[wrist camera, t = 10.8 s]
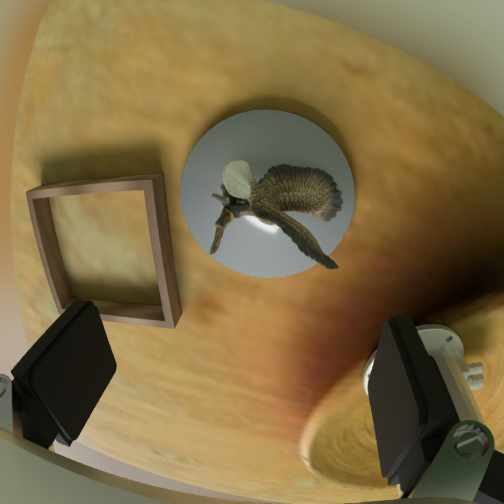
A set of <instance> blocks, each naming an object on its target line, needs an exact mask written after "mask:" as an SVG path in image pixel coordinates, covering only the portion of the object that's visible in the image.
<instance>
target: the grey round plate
mask: <svg viewBox="0 0 504 504" xmlns="http://www.w3.org/2000/svg"><path fill="white" fill-rule="evenodd" d="M239 160H243V161H245V162H247V163H248V165H249V167H250V170H251V172H252V174H253V177H254V179H255V180H256V182H257V183H258V182H259V180H260V179H261V178H264V174H266V173H267V172H268V169H270V168H271V167H272V166H277V165H280V164H287V165H291V166H299V167H300V166H301V167H303V168H305V167H311V168H314V169H315V168H319V169H320V170H324V171H325V172H326V173H328V174H330V176H332V177H333V179H334V180H333V181H334V182H335V183H337V185H338V186H337V187H336V189H338V190H340V191H341V193H342V196H341V199H342V200H343V205H342V206H341V208H342V210H341V211H340V212H337V213H336V217H335V218H332V219H331V221H330V222H329V223H326V222H323V221H321V220H320V219H317V218H315V217H314V216H312V215H308V214H304V213H300V212H284V213H286V214H287V215H289V216H290V217H292V218H294V219H295V220H297V221H298V222H299V223H301V224H302V225H303V226H304V227H305V228H307V229H308V230H309V231H310V232H311V233H312V234H313V236H314V237H315V239H316V240H317V242H318V244H319V245H320V247H321V249H322V252H323V253H324V254H326V255H327V256H328V255H329V254H330V253H331V252H332V251H333V250H334V249H335V248H336V246H337V245H338V244H339V243H340V241H341V240H342V238H343V236H344V235H345V233H346V231H347V229H348V227H349V224H350V222H351V218H352V215H353V210H354V203H355V188H354V181H353V176H352V173H351V169H350V166H349V164H348V162H347V159H346V157H345V155H344V154H343V152H342V150H341V149H340V147H339V146H338V145H337V143H336V142H335V141H334V140H333V139H332V137H331V136H329V135H328V134H327V133H326V132H325V131H324V130H323V129H322V128H320V127H319V126H317V125H316V124H314V123H313V122H311V121H309V120H307V119H305V118H303V117H301V116H298V115H295V114H292V113H289V112H285V111H279V110H267V109H263V110H252V111H247V112H243V113H239V114H237V115H234V116H231V117H229V118H227V119H225V120H223V121H221V122H220V123H218V124H217V125H215V126H214V127H212V128H211V129H210V130H209V131H208V132H207V133H206V134H204V135H203V136H202V137H201V139H200V140H199V141H198V142H197V144H196V145H195V146H194V148H193V149H192V151H191V153H190V155H189V156H188V159H187V161H186V164H185V166H184V170H183V174H182V178H181V187H180V197H181V205H182V211H183V214H184V218H185V221H186V223H187V225H188V228H189V230H190V232H191V233H192V235H193V237H194V238H195V240H196V241H197V242H198V244H199V245H200V246H201V247H202V248H203V249H204V250H205V251H206V252H207V253H208V254H209V255H210V250H211V246H212V244H213V241H214V236H215V231H216V226H215V223H216V221H217V220H218V218H219V217H220V215H221V212H222V210H223V207H224V206H223V205H222V203H221V202H220V201H219V200H217V199H214V198H212V196H211V195H212V194H214V193H216V194H219V195H221V196H223V191H222V190H221V187H220V186H221V184H223V185H225V184H224V181H223V170H224V168H225V165H226V164H228V163H229V162H230V161H239ZM242 203H244V202H242ZM210 256H211V257H212V258H213V259H215V260H216V261H217V262H219V263H221V264H222V265H224V266H225V267H227V268H230V269H232V270H234V271H236V272H239V273H242V274H245V275H250V276H254V277H264V278H276V277H284V276H289V275H293V274H297V273H300V272H302V271H305V270H307V269H309V268H311V267H313V266H314V265H316V264H318V263H317V262H316V261H315V260H312V259H311V258H310V257H307V256H305V254H304V253H301V252H300V250H299V249H298V246H297V244H295V243H293V242H292V239H291V238H290V237H288V236H287V235H286V234H284V233H283V231H282V229H281V228H280V227H279V229H274V228H272V227H270V226H269V225H267V224H264V223H262V222H261V221H260V220H259V219H258V218H257V217H254V216H250V215H243V216H241V217H240V218H234V219H233V220H232V222H231V223H230V224H229V225H228V226H227V227H226V228H225V230H224V232H223V237H222V238H221V242H220V246H219V248H218V250H217V251H216V253H215V254H214V255H210Z"/></svg>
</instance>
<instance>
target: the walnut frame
mask: <svg viewBox="0 0 504 504" xmlns="http://www.w3.org/2000/svg"><path fill="white" fill-rule="evenodd" d="M132 190H144V194H145V202H146V210H147V218H148V225H149V232H150V238H151V245H152V251H153V257H154V263H155V269H156V275H157V281H158V286H159V291H160V297H161V302H162V306H155V305H144V304H132V303H122V302H112V301H102V300H93V299H84V298H75V297H73V296H72V293H71V289H70V286H69V283H68V279H67V276H66V273H65V269H64V265H63V262H62V258H61V254H60V250H59V246H58V242H57V238H56V234H55V229H54V225H53V220H52V215H51V210H50V205H49V200H48V197H56V196H66V195H77V194H89V193H102V192H116V191H132ZM26 196H27V201H28V206H29V211H30V216H31V220H32V225H33V229H34V233H35V237H36V241H37V245H38V249H39V253H40V256H41V260H42V263H43V267H44V270H45V274H46V277H47V280H48V283H49V286H50V289H51V292H52V295H53V298H54V301H55V304H56V307H57V310H58V312H59V314H62V313H63V312H64V311H65V310H66V309H67V308H68V307H69V306H70V305H71V304H72V303H73V302H74V301H75V300H76V299H82V300H90V301H92V302H93V303H94V305H95V306H97V308H98V310H99V314H100V317H101V320H103V321H110V322H118V323H126V324H134V325H143V326H153V327H162V328H173V329H175V327H176V325H177V323H178V321H179V319H180V317H181V315H182V312H181V306H180V300H179V294H178V287H177V281H176V274H175V267H174V260H173V253H172V246H171V238H170V230H169V222H168V213H167V204H166V195H165V185H164V174H163V173H159V174H144V175H131V176H119V177H108V178H97V179H88V180H79V181H70V182H62V183H54V184H47V185H40V186H38V187H36V188H33V189H31V190H29V191H27V192H26Z"/></svg>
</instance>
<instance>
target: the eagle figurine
mask: <svg viewBox="0 0 504 504" xmlns="http://www.w3.org/2000/svg"><path fill="white" fill-rule="evenodd" d="M333 180H334V179H333V177H332V176H330V174H328V173H326V172H325V171H324V170H320V169H319V168H315V169H314V168H311V167H305V168H303V167H301V166H300V167H299V166H291V165H287V164H280V165H277V166H272V167H271V168H270V169H268V172H267V173H266V174H264V178H261V179H260V180H259V182H258V183H257V182H256V180H255V179H254V177H253V174H252V172H251V170H250V167H249V165H248V163H247V162H245V161H243V160H239V161H230V162H229V163H228V164H226V165H225V168H224V170H223V181H224V184H225V185H223V184H221V186H220V187H221V190H222V191H223V196H221V195H219V194H216V193H214V194H212V195H211V196H212V198H214V199H217V200H219V201H220V202H221V203H222V205H223V206H224V207H223V210H222V212H221V215H220V217H219V218H218V220H217V221H216V223H215V226H216V231H215V236H214V241H213V244H212V246H211V250H210V255H214V254H215V253H216V251H217V250H218V248H219V246H220V242H221V238H222V237H223V232H224V230H225V228H226V227H227V226H228V225H229V224H230V223H231V222H232V220H233V219H234V218H240V217H241V216H243V215H250V216H254V217H257V218H258V219H259V220H260V221H261V222H262V223H264V224H267V225H269V226H270V227H272V228H274V229H279V227H280V228H281V229H282V231H283V233H284V234H286V235H287V236H288V237H290V238H291V239H292V242H293V243H295V244H297V246H298V249H299V250H300V252H301V253H304V254H305V256H307V257H310V258H311V259H312V260H315V261H316V262H317V263H319V264H321V265H322V266H324V267H326V268H327V269H331V270H334V269H335V270H338V268H339V266H338V265H336V263H335V262H334V261H333V260H332V259H330V258H329V257H328V256H327V255H326V254H324V253H323V252H322V249H321V247H320V245H319V244H318V242H317V240H316V239H315V237H314V236H313V234H312V233H311V232H310V231H309V230H308V229H307V228H305V227H304V226H303V225H302V224H301V223H299V222H298V221H297V220H295V219H294V218H292V217H290V216H289V215H287V214H286V213H284V212H300V213H304V214H308V215H312V216H314V217H315V218H317V219H320V220H321V221H323V222H326V223H329V222H330V221H331V219H332V218H335V217H336V213H337V212H340V211H341V210H342V208H341V206H342V205H343V200H342V199H341V196H342V193H341V191H340V190H338V189H336V187H337V186H338V185H337V183H335V182H334V181H333ZM242 202H244V203H242Z"/></svg>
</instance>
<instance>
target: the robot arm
mask: <svg viewBox="0 0 504 504" xmlns="http://www.w3.org/2000/svg"><path fill="white" fill-rule="evenodd" d="M463 356H464V348H463V344H462V342H461V340H460V338H459V336H458V335H457V334H456V332H455V331H453V330H452V329H451V328H449V327H446V326H444V325H438V324H424V325H420V326H415V325H414V322H413V320H412V318H411V317H410V315H392V316H391V317H390V319H389V320H385V322H384V324H383V328H382V332H381V336H380V340H379V344H378V348H377V349H376V350H375V352H374V353H373V354H372V355H371V356H370V358H369V360H368V361H367V363H366V365H365V368H364V371H363V378H362V380H363V385H364V389H365V392H366V394H367V395H368V396H369V400H370V406H371V411H372V417H373V422H374V428H375V434H376V440H377V446H378V453H379V459H380V466H381V473H382V476H383V477H387V478H388V485H395V484H397V488H398V495H399V499H396V500H384V501H372V502H361V503H346V504H504V454H502V453H500V452H498V451H496V449H495V446H494V445H495V443H494V437H493V435H492V433H491V431H490V430H489V429H488V428H487V426H486V424H485V421H484V419H483V416H482V414H481V412H480V409H479V407H478V405H477V403H476V400H475V398H474V396H473V394H472V392H471V390H476V389H480V388H482V386H483V383H484V378H483V376H482V374H479V373H482V371H483V364H482V363H481V362H478V363H472V364H467V363H466V362H465V361H464V359H463ZM116 367H117V365H116V361H115V358H114V355H113V353H112V350H111V347H110V344H109V341H108V338H107V335H106V332H105V329H104V326H103V323H102V320H101V317H100V314H99V310H98V308H97V306H95V305H94V303H93V302H92V301H90V300H82V299H76V300H75V301H74V302H73V303H72V304H71V305H70V306H69V307H68V308H67V309H66V310H65V311H64V312H63V313H62V314H61V315H60V316H59V318H58V319H57V320H56V321H55V322H54V323H53V324H52V325H51V326H50V327H49V328H48V329H47V330H46V332H45V333H44V334H43V335H42V336H41V337H40V338H39V339H38V340H37V341H36V343H35V344H34V345H33V346H32V347H31V348H30V349H29V350H28V352H27V353H26V354H25V355H24V356H23V357H22V359H21V360H20V361H19V362H18V363H17V365H16V366H15V367H14V368H13V369H12V370H11V373H12V375H13V376H14V379H13V381H11V379H10V378H9V377H8V376H7V375H5V374H0V504H270V503H254V502H244V501H235V500H226V499H219V498H212V497H206V496H199V495H194V494H188V493H183V492H177V491H173V490H168V489H164V488H160V487H156V486H152V485H148V484H143V483H140V482H136V481H133V480H129V479H126V478H123V477H119V476H116V475H113V474H110V473H107V472H104V471H101V470H98V469H95V468H92V467H90V466H87V465H84V464H82V463H79V462H76V461H74V460H71V459H69V458H66V457H64V456H62V455H59V454H57V453H55V450H54V445H53V442H54V440H55V439H56V441H57V442H59V443H61V444H63V445H66V446H68V447H70V445H71V443H72V441H73V440H76V439H77V438H78V436H79V435H80V433H81V431H82V429H83V427H84V426H85V424H86V422H87V420H88V418H89V417H90V415H91V413H92V411H93V410H94V408H95V406H96V404H97V403H98V401H99V399H100V398H101V396H102V394H103V392H104V391H105V389H106V387H107V386H108V384H109V382H110V380H111V379H112V377H113V375H114V374H115V372H116ZM470 374H472V375H470ZM473 374H475V375H473Z"/></svg>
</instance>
